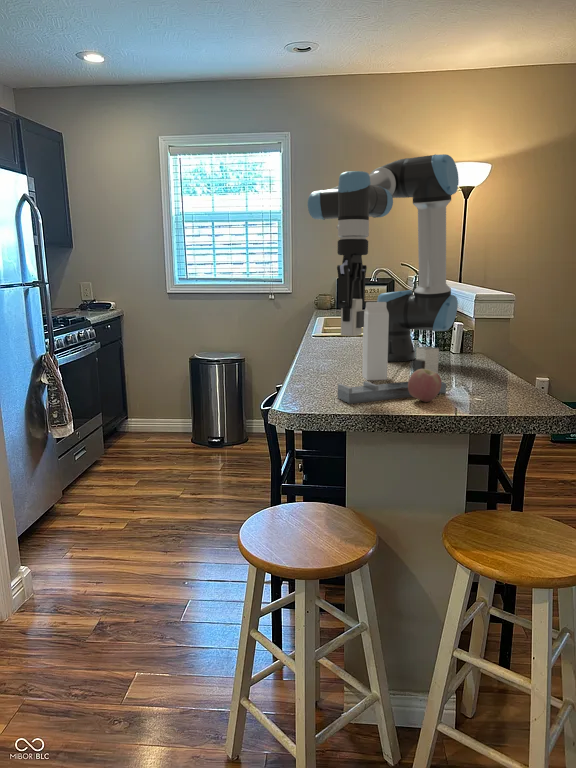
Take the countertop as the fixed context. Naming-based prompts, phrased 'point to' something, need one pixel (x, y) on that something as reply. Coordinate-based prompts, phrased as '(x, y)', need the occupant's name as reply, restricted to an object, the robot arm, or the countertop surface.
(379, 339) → the milk
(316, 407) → the countertop surface
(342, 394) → the rail
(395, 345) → the robot arm
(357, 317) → the short white pillar
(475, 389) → the countertop surface
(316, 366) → the countertop surface
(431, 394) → the apple
